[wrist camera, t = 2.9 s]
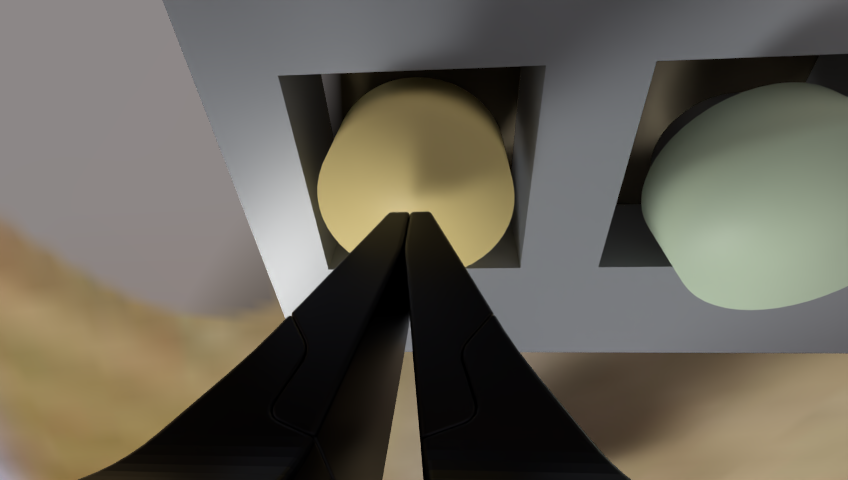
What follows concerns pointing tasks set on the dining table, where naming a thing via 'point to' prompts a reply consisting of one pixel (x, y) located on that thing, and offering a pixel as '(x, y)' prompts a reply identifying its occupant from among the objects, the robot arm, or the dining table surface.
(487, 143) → the button mustard
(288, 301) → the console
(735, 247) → the button sage
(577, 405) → the dining table surface
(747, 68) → the dining table surface
